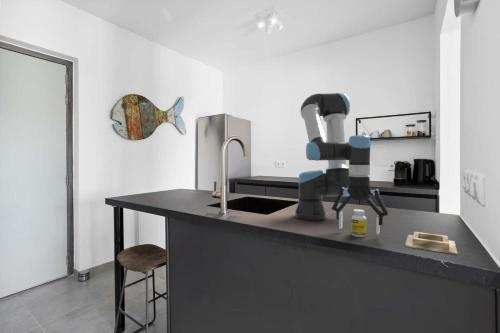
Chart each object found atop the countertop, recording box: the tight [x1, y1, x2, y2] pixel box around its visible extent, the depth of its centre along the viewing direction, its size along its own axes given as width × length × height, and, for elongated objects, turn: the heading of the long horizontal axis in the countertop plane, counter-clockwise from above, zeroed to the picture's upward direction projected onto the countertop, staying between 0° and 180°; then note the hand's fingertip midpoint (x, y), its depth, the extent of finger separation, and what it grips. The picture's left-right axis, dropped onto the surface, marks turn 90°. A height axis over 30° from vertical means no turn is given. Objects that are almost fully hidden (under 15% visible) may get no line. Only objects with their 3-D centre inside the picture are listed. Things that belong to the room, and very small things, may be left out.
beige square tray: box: [404, 231, 458, 256], centre depth 92 cm, size 14×14×2 cm
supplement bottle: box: [350, 208, 367, 238], centre depth 103 cm, size 5×5×10 cm
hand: (358, 230), depth 104 cm, fingers open, 13 cm apart
